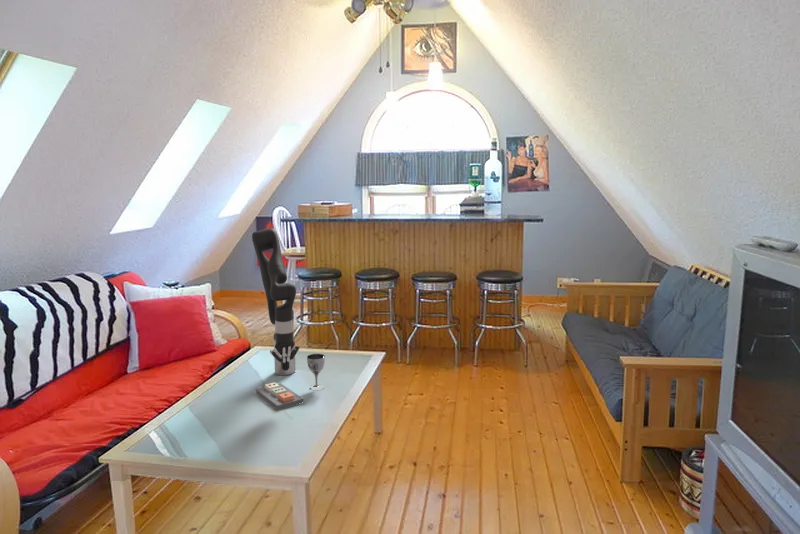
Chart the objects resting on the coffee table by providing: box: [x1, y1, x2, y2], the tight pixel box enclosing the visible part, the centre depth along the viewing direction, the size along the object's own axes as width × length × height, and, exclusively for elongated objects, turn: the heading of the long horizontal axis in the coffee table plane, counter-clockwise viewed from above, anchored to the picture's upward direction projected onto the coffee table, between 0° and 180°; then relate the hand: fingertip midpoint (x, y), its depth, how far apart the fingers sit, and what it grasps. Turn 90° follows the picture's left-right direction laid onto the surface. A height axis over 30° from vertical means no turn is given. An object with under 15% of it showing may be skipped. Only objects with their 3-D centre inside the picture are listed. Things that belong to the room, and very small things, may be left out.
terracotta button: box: [279, 392, 294, 403], centre depth 236 cm, size 5×5×3 cm
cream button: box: [264, 381, 280, 392], centre depth 247 cm, size 5×5×3 cm
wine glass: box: [306, 353, 326, 387], centre depth 253 cm, size 8×8×15 cm
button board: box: [255, 382, 304, 411], centre depth 242 cm, size 12×22×2 cm, turn 37°
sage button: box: [272, 387, 287, 397], centre depth 242 cm, size 5×5×3 cm
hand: (285, 369), depth 234 cm, fingers closed
